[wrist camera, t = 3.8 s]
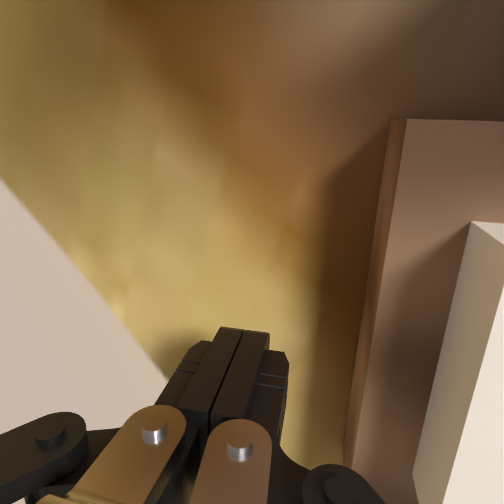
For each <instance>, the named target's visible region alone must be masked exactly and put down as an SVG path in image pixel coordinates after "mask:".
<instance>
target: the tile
mask: <svg viewBox="0 0 504 504" xmlns="http://www.w3.org/2000/svg"><path fill="white" fill-rule="evenodd" d="M412 476H413V480H414V485H415V489H416V493H417V498H418V502H419V504H504V224H502V223H489V222H475V221H471V224H470V228H469V232H468V236H467V241H466V245H465V249H464V254H463V258H462V262H461V266H460V271H459V275H458V279H457V284H456V288H455V292H454V296H453V301H452V305H451V309H450V313H449V318H448V322H447V326H446V331H445V335H444V339H443V343H442V348H441V352H440V356H439V360H438V365H437V369H436V373H435V378H434V382H433V386H432V390H431V395H430V399H429V403H428V408H427V412H426V416H425V420H424V425H423V429H422V433H421V437H420V442H419V446H418V450H417V455H416V459H415V463H414V467H413V472H412Z"/></svg>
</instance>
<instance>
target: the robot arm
mask: <svg viewBox="0 0 504 504" xmlns="http://www.w3.org/2000/svg"><path fill="white" fill-rule="evenodd" d="M269 343H270V334H269V333H266V332H258V331H251V330H243V329H236V328H228V327H220V328H219V330H218V332H217V334H216V336H215V337H214V339H213V341H212V342H210V341H203V340H201V341H200V342H199V343H197V344H196V345H194V346H193V347H191V348H190V349H189V350H188V352H187V353H186V355H185V356H184V358H183V360H182V363H180V364H179V366H178V368H177V369H176V372H174V374H173V376H172V377H171V379H170V380H169V382H168V383H167V385H166V387H165V388H164V390H163V392H162V393H161V395H160V396H159V398H158V399H157V401H156V403H155V404H154V405H153V406H149V407H146V408H143V409H141V410H139V411H137V412H136V413H134V414H133V415H132V416H131V417H130V418H129V419H128V420H127V421H126V422H125V423H124V425H123V426H122V427H120V428H116V429H105V430H93V431H87V430H86V424H85V421H84V419H83V418H82V417H81V416H80V415H78V414H75V413H72V412H58V413H53V414H49V415H46V416H43V417H41V418H38V419H36V420H34V421H31V422H29V423H27V424H24V425H22V426H20V427H17V428H15V429H13V430H10V431H8V432H6V433H3V434H1V435H0V504H12V503H14V502H16V501H18V500H20V499H22V498H23V497H24V499H25V502H26V504H386V503H385V502H384V501H383V500H382V499H381V497H380V496H379V495H378V494H377V493H376V492H375V490H374V489H373V488H372V487H371V486H370V484H369V483H368V482H367V481H366V480H365V479H364V478H363V477H362V476H361V475H359V474H358V473H357V472H355V471H353V470H352V469H349V468H347V467H344V466H341V465H335V464H326V465H321V466H318V467H316V468H314V469H312V470H311V471H310V470H308V469H306V468H304V467H302V466H300V465H298V464H297V463H295V462H294V461H292V460H291V459H290V458H289V457H288V456H287V455H286V454H285V453H284V452H283V450H282V449H281V447H280V440H281V433H282V427H283V420H284V415H285V409H286V399H287V386H288V373H289V362H288V360H287V358H286V355H285V353H284V352H280V351H273V350H269Z"/></svg>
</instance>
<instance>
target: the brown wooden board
mask: <svg viewBox="0 0 504 504" xmlns="http://www.w3.org/2000/svg"><path fill="white" fill-rule="evenodd" d="M471 221H475V222H489V223H502V224H504V121H472V120H438V119H390V125H389V132H388V139H387V146H386V153H385V159H384V166H383V173H382V180H381V187H380V194H379V201H378V208H377V215H376V221H375V228H374V235H373V242H372V249H371V256H370V263H369V270H368V276H367V283H366V290H365V297H364V304H363V311H362V318H361V325H360V332H359V338H358V345H357V352H356V359H355V366H354V373H353V380H352V387H351V393H350V400H349V407H348V414H347V421H346V428H345V435H344V442H343V466H344V467H347V468H349V469H352V470H353V471H355V472H357V473H358V474H359V475H361V476H362V477H363V478H364V479H365V480H366V481H367V482H368V483H369V484H370V486H371V487H372V488H373V489H374V490H375V492H376V493H377V494H378V495H379V496H380V497H381V499H382V500H383V501H384V502H385V503H386V504H419V502H418V498H417V493H416V489H415V485H414V480H413V476H412V472H413V467H414V463H415V459H416V455H417V450H418V446H419V442H420V437H421V433H422V429H423V425H424V420H425V416H426V412H427V408H428V403H429V399H430V395H431V390H432V386H433V382H434V378H435V373H436V369H437V365H438V360H439V356H440V352H441V348H442V343H443V339H444V335H445V331H446V326H447V322H448V318H449V313H450V309H451V305H452V301H453V296H454V292H455V288H456V284H457V279H458V275H459V271H460V266H461V262H462V258H463V254H464V249H465V245H466V241H467V236H468V232H469V228H470V224H471Z"/></svg>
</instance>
